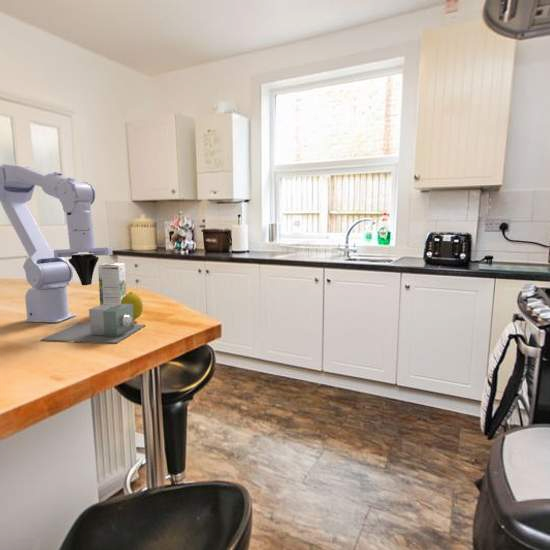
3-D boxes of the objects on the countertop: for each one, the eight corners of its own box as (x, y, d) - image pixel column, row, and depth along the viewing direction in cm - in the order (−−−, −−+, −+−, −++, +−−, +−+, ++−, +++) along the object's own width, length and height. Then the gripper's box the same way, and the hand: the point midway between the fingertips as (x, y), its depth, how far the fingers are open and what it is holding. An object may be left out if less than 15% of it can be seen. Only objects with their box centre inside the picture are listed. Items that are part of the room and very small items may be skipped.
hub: (90, 334, 88) (88, 309, 87) (105, 327, 94) (103, 303, 93) (107, 335, 87) (105, 309, 87) (120, 328, 93) (119, 304, 92)
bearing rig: (86, 338, 87) (84, 310, 86) (105, 328, 95) (103, 303, 94) (121, 339, 86) (119, 311, 85) (138, 329, 94) (136, 303, 93)
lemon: (136, 324, 98) (134, 294, 97) (116, 323, 99) (115, 293, 98) (147, 319, 103) (146, 290, 102) (129, 318, 105) (127, 289, 103)
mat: (40, 340, 85) (40, 339, 85) (79, 324, 99) (79, 322, 99) (116, 343, 83) (116, 342, 83) (145, 326, 97) (145, 324, 97)
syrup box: (107, 311, 113) (104, 262, 111) (127, 310, 113) (125, 262, 111) (100, 316, 107) (96, 264, 105) (121, 315, 108) (118, 264, 106)
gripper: (42, 232, 92) (49, 288, 94) (99, 229, 90) (104, 286, 92) (62, 232, 99) (68, 283, 100) (114, 229, 97) (119, 282, 99)
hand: (86, 284), depth 97 cm, fingers closed
